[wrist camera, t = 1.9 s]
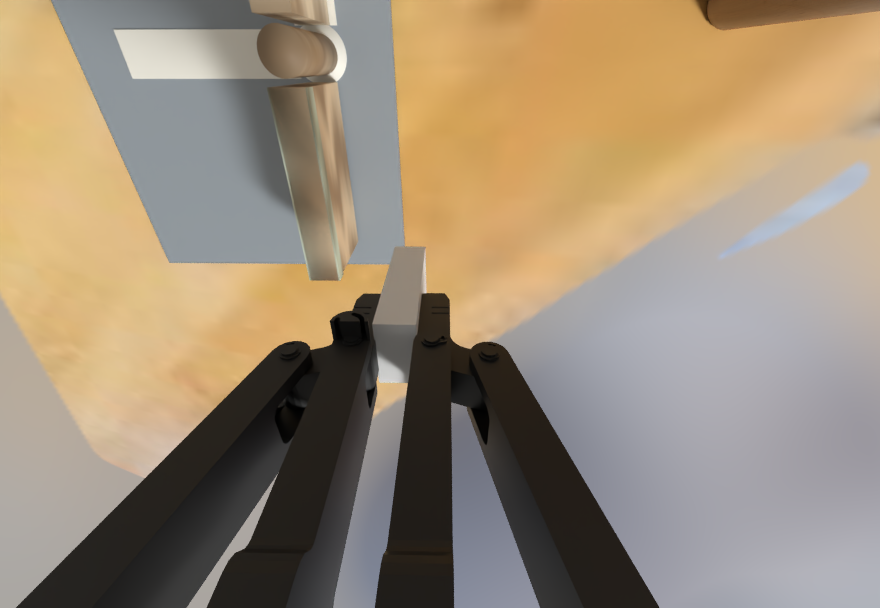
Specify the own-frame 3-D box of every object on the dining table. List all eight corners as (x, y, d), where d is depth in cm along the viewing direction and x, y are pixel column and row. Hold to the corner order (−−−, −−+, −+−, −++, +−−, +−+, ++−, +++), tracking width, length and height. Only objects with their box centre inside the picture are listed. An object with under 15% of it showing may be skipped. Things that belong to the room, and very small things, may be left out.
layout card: (-109, -367, 17) (-121, -376, 16) (369, -375, 17) (367, -384, 16) (171, 261, 34) (168, 263, 34) (405, 263, 34) (405, 264, 34)
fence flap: (307, 82, 26) (266, 87, 20) (338, 82, 26) (306, 87, 20) (334, 241, 32) (309, 280, 26) (359, 241, 32) (340, 280, 26)
